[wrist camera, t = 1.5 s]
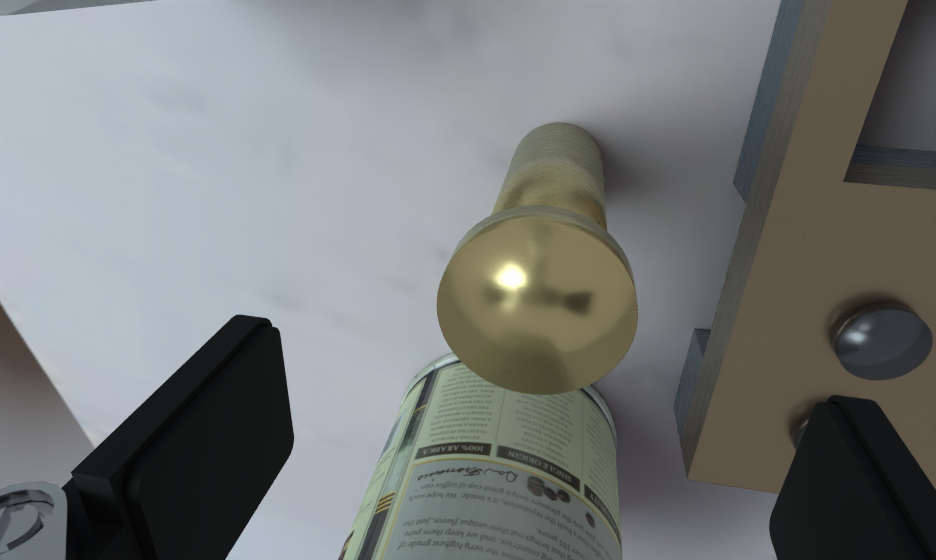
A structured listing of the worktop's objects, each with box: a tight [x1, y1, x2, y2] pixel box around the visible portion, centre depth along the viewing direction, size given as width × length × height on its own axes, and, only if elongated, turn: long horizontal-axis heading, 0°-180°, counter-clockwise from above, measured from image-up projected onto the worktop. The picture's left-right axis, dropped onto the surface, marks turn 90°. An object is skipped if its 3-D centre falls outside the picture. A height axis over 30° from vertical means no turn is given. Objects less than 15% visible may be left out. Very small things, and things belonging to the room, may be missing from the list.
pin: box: [437, 123, 638, 395], centre depth 17 cm, size 4×4×10 cm
